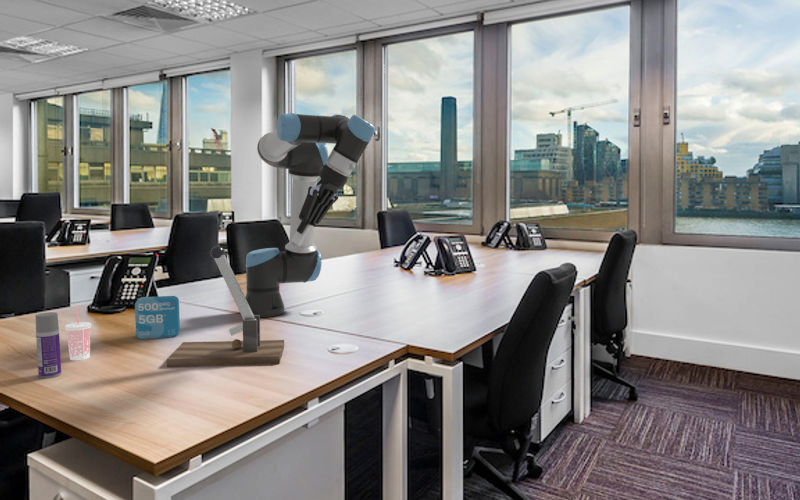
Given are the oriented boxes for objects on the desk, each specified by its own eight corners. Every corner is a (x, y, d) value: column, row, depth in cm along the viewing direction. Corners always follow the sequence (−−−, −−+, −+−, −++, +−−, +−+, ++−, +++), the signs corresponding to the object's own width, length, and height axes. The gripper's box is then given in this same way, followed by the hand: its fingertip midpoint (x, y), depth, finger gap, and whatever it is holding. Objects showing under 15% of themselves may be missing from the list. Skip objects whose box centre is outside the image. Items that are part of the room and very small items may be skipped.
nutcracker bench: (183, 349, 159) (182, 312, 158) (284, 346, 162) (283, 310, 161) (167, 366, 143) (165, 326, 142) (279, 363, 147) (278, 324, 146)
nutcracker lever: (234, 335, 154) (195, 254, 151) (260, 323, 155) (222, 243, 151) (231, 338, 151) (191, 256, 147) (259, 326, 151) (219, 244, 148)
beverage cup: (87, 353, 154) (84, 302, 153) (97, 357, 150) (94, 306, 149) (62, 358, 150) (59, 306, 148) (72, 362, 146) (69, 309, 144)
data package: (136, 339, 169) (134, 300, 167) (138, 335, 173) (136, 297, 172) (179, 336, 172) (177, 298, 171) (180, 333, 176) (178, 295, 175)
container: (65, 372, 139) (62, 312, 137) (54, 378, 134) (50, 316, 132) (46, 372, 138) (42, 312, 137) (34, 378, 134) (30, 316, 132)
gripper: (335, 172, 147) (292, 248, 151) (358, 180, 159) (317, 251, 163) (314, 158, 150) (272, 234, 153) (338, 167, 162) (299, 237, 165)
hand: (295, 242), depth 158 cm, fingers closed
